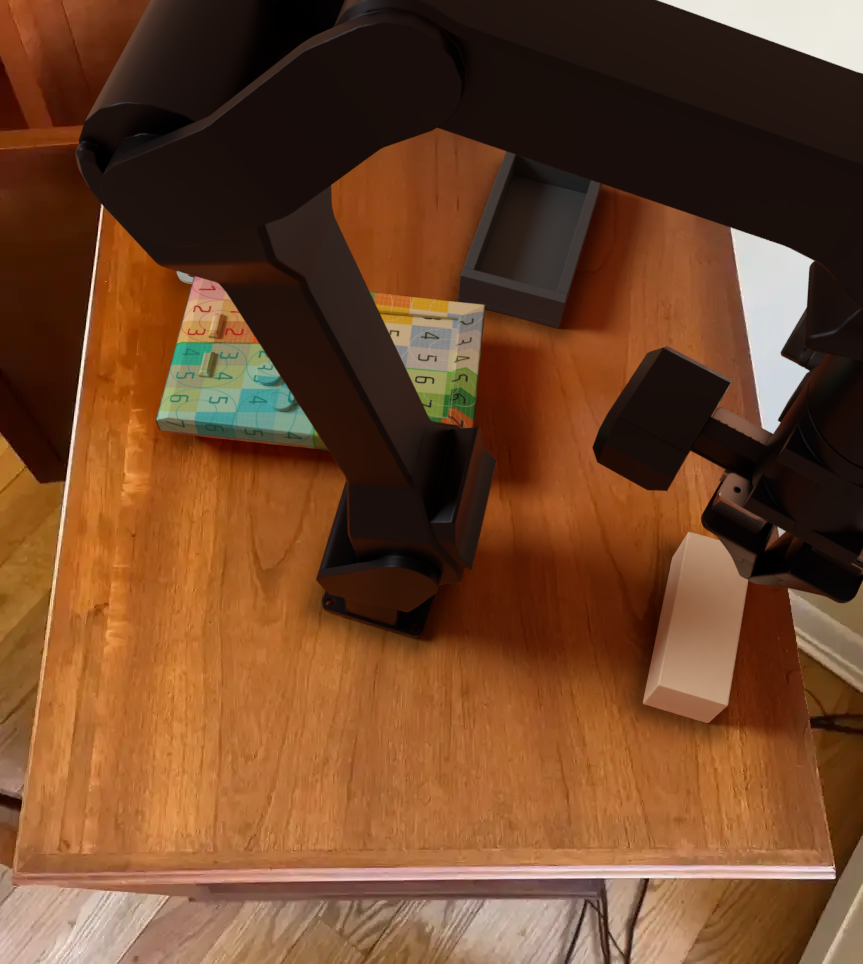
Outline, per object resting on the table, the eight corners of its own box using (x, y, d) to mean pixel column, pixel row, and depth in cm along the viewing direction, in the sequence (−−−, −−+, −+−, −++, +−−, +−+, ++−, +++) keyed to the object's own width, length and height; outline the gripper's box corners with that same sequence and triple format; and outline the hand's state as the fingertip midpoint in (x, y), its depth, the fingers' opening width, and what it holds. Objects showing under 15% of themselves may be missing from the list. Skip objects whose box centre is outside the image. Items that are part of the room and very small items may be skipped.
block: (728, 705, 57) (753, 549, 61) (658, 684, 57) (688, 530, 62) (708, 723, 60) (733, 574, 65) (642, 704, 61) (672, 557, 65)
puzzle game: (192, 265, 69) (486, 296, 68) (203, 308, 73) (480, 337, 72) (152, 412, 63) (472, 446, 63) (167, 449, 67) (467, 481, 67)
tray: (558, 328, 73) (565, 302, 70) (457, 301, 74) (460, 275, 71) (599, 194, 79) (606, 165, 77) (505, 170, 80) (509, 141, 77)
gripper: (1185, 377, 39) (976, 544, 53) (744, 172, 43) (657, 376, 57) (1109, 605, 35) (902, 722, 48) (624, 350, 39) (561, 525, 52)
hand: (750, 572), depth 52 cm, fingers closed
